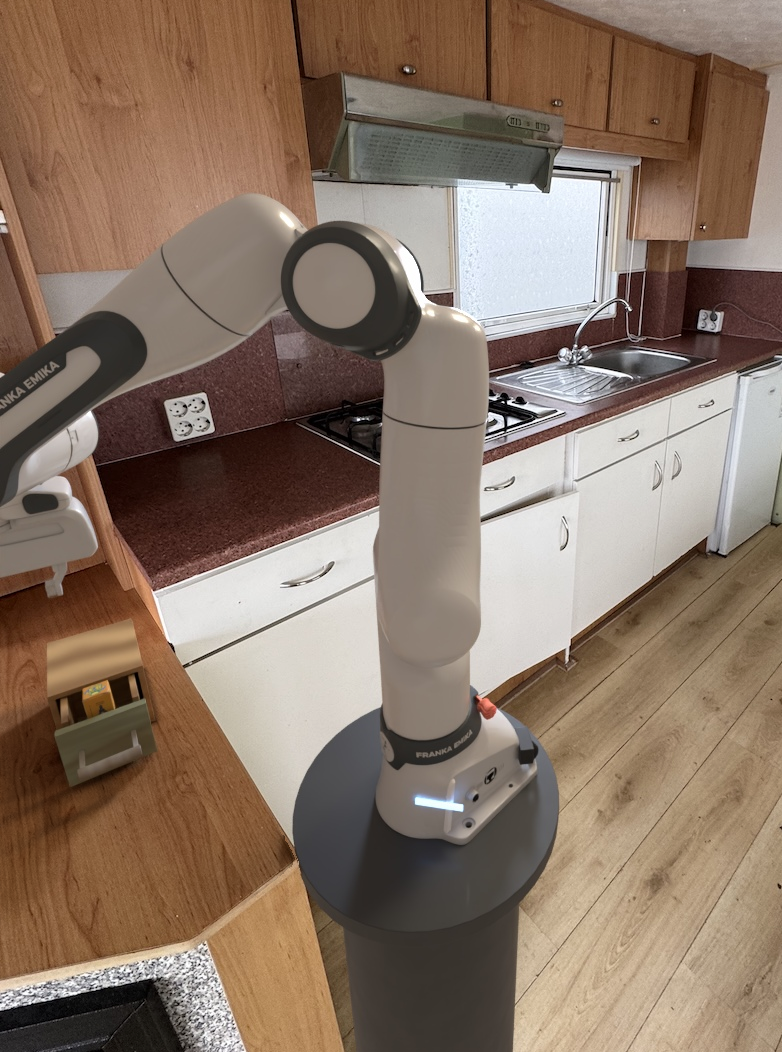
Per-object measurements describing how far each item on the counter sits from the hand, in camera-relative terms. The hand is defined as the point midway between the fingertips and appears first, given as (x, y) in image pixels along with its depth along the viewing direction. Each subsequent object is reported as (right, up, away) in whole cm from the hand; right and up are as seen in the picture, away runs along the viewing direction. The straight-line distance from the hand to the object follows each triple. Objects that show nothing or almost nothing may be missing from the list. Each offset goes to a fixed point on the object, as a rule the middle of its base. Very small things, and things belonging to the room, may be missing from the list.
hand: (7, 607), depth 69 cm
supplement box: (+3, -24, +14) cm, 28 cm away
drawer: (+2, -25, +15) cm, 29 cm away
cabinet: (-4, -22, +24) cm, 33 cm away
